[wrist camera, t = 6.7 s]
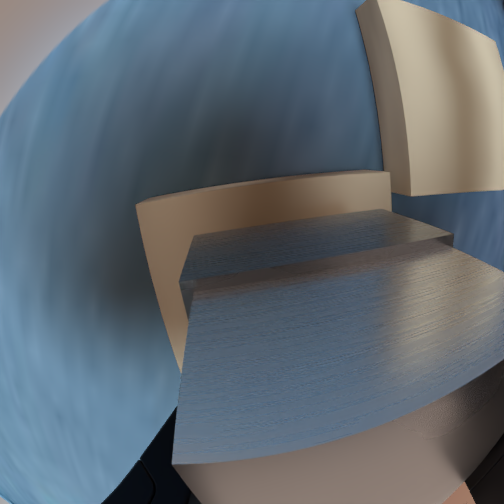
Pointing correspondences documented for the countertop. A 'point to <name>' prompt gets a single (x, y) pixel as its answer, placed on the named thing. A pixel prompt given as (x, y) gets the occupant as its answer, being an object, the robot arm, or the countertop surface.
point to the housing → (337, 363)
